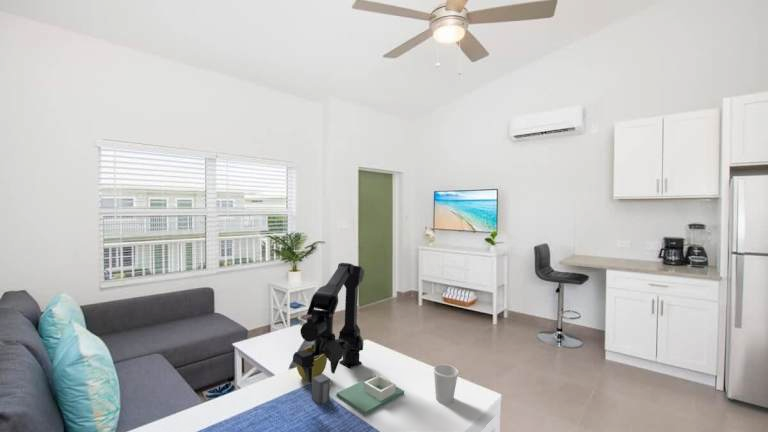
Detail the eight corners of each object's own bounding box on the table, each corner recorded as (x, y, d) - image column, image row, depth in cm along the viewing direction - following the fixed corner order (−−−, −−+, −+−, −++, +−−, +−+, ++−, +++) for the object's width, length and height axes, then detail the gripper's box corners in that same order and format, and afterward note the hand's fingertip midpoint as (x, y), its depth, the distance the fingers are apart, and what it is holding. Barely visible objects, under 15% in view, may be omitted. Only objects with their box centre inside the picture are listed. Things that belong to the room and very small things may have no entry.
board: (336, 396, 114) (336, 383, 114) (375, 378, 127) (375, 367, 127) (365, 415, 104) (366, 402, 104) (403, 394, 117) (404, 382, 117)
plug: (311, 399, 112) (312, 377, 111) (321, 394, 114) (322, 373, 114) (319, 405, 108) (320, 383, 108) (330, 400, 111) (331, 379, 111)
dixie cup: (429, 402, 113) (430, 372, 113) (434, 390, 121) (436, 362, 121) (454, 409, 110) (456, 378, 110) (458, 396, 118) (460, 367, 117)
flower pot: (293, 379, 123) (294, 354, 123) (307, 369, 131) (309, 346, 131) (314, 385, 120) (315, 360, 120) (327, 374, 128) (328, 350, 128)
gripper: (313, 345, 99) (311, 399, 99) (361, 330, 112) (359, 377, 113) (292, 334, 106) (290, 383, 107) (340, 321, 120) (338, 365, 120)
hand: (321, 377), depth 112 cm, fingers open, 9 cm apart
